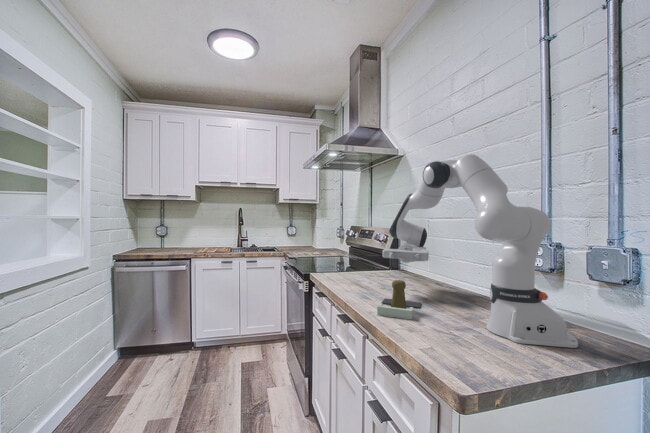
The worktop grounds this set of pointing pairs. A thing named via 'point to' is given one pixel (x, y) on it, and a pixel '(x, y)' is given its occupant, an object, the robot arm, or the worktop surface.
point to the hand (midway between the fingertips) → (403, 256)
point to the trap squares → (408, 303)
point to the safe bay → (395, 312)
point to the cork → (398, 294)
